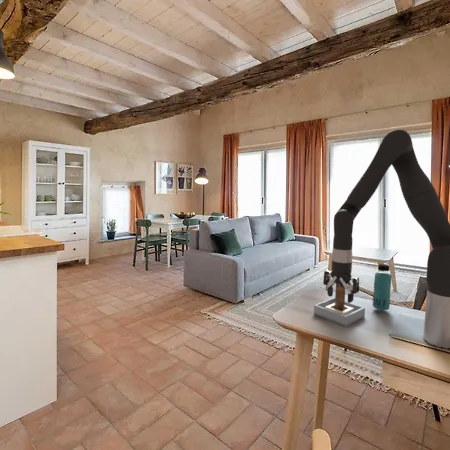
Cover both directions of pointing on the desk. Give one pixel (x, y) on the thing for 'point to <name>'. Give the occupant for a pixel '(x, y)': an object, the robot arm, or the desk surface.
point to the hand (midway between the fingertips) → (339, 299)
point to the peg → (340, 297)
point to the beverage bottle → (382, 288)
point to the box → (339, 312)
